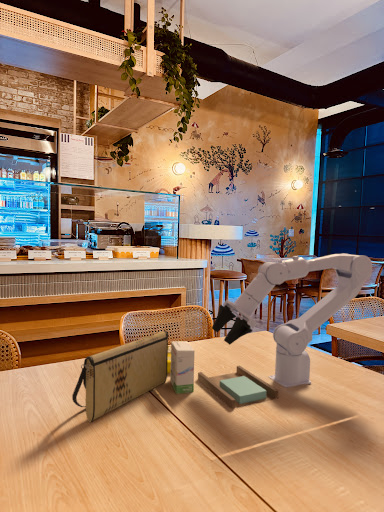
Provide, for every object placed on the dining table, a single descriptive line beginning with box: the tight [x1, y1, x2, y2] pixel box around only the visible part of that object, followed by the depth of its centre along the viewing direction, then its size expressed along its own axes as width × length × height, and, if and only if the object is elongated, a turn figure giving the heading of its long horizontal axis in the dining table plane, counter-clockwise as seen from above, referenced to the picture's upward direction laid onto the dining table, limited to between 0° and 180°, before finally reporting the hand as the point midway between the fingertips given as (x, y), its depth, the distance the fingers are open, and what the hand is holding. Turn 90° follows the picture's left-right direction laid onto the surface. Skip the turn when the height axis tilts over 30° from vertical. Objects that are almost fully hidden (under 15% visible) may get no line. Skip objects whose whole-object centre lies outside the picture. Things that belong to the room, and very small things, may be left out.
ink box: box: [169, 340, 195, 394], centre depth 97 cm, size 8×5×12 cm, turn 14°
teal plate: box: [219, 376, 267, 404], centre depth 94 cm, size 8×10×2 cm
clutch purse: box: [71, 330, 169, 423], centre depth 90 cm, size 30×7×15 cm, turn 145°
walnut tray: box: [197, 365, 279, 409], centre depth 96 cm, size 14×18×2 cm
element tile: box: [167, 345, 171, 374], centre depth 113 cm, size 15×15×5 cm
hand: (220, 336), depth 98 cm, fingers open, 7 cm apart
